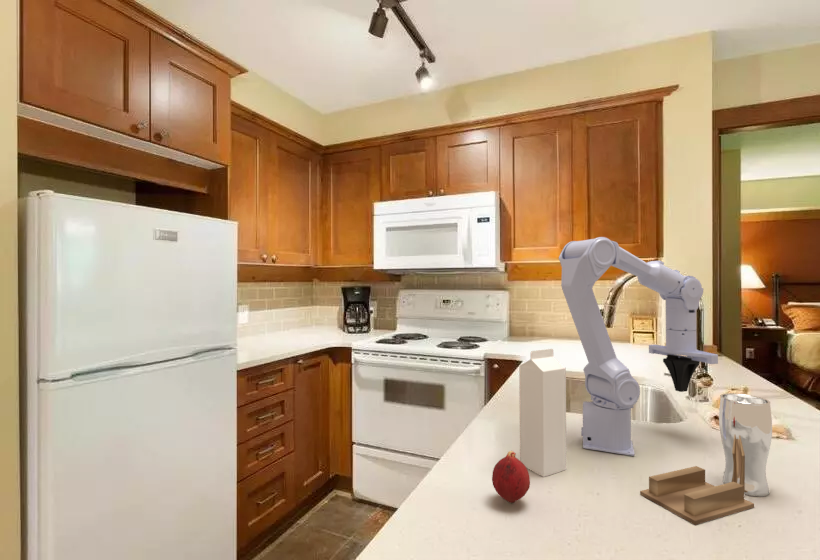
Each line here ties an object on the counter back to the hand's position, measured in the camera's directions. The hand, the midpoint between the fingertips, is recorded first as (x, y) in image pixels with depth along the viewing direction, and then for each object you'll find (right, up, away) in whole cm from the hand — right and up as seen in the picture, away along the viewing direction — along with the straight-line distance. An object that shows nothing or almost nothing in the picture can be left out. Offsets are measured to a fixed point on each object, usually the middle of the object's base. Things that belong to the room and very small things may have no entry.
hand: (681, 390), depth 92 cm
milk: (-35, -11, -14) cm, 40 cm away
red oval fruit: (-44, -11, -27) cm, 53 cm away
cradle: (-15, -10, -26) cm, 32 cm away
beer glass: (-4, -11, -22) cm, 25 cm away
